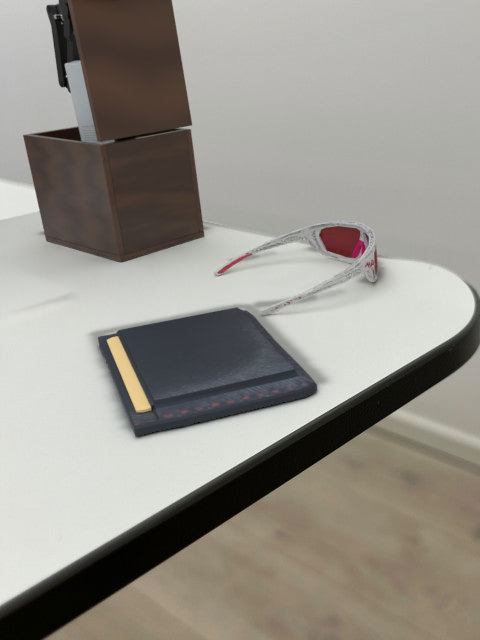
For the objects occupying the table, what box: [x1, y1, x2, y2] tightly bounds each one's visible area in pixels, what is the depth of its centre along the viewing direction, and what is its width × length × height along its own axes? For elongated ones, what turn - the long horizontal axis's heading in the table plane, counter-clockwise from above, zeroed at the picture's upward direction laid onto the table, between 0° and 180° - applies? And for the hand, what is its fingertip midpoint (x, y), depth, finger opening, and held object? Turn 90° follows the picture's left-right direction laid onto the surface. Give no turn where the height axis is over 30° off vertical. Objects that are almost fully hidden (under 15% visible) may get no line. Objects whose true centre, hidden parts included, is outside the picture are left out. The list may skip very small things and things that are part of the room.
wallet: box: [97, 306, 318, 438], centre depth 67 cm, size 20×2×15 cm
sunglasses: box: [213, 220, 378, 316], centre depth 87 cm, size 17×17×5 cm
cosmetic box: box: [65, 60, 115, 144], centre depth 98 cm, size 6×4×12 cm
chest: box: [22, 125, 205, 263], centre depth 103 cm, size 18×14×14 cm
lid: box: [67, 0, 193, 142], centre depth 89 cm, size 18×14×7 cm
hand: (109, 146), depth 100 cm, fingers closed on cosmetic box, 7 cm apart
